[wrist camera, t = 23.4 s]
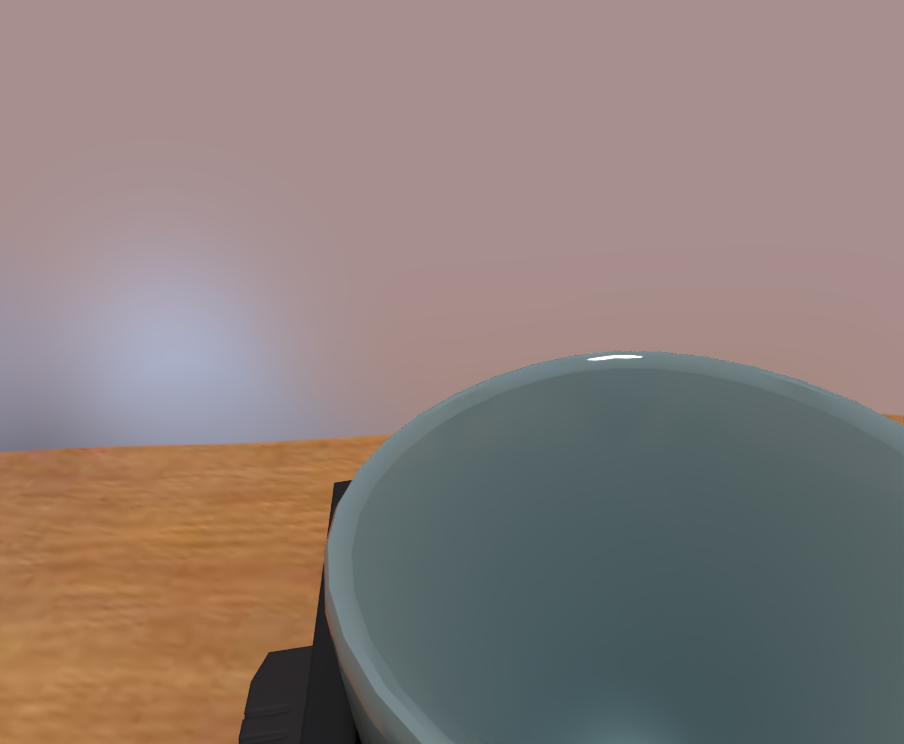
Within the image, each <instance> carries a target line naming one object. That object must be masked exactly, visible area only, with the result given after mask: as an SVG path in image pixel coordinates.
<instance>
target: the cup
mask: <svg viewBox="0 0 904 744" xmlns="http://www.w3.org/2000/svg"><path fill="white" fill-rule="evenodd" d="M324 581H325V614H326V619H327V624H328V628H329V633H330V637H331V641H332V645H333V648H334V652H335V655H336V659H337V662H338V666H339V669H340V673H341V677H342V680H343V684H344V687H345V691H346V694H347V698H348V701H349V705H350V708H351V712H352V715H353V719H354V722H355V725H356V728H357V731H358V734H359V737H360V740H361V743H362V744H904V426H903V425H901V424H899V423H897V422H895V421H893V420H891V419H889V418H887V417H885V416H883V415H881V414H879V413H877V412H875V411H873V410H871V409H869V408H868V407H866V406H864V405H862V404H860V403H858V402H855V401H853V400H851V399H848V398H846V397H843V396H840V395H838V394H835V393H833V392H830V391H828V390H825V389H823V388H820V387H818V386H815V385H812V384H809V383H807V382H805V381H802V380H798V379H795V378H791V377H788V376H785V375H781V374H778V373H774V372H771V371H767V370H764V369H761V368H757V367H754V366H749V365H744V364H739V363H734V362H729V361H724V360H719V359H714V358H709V357H703V356H694V355H685V354H676V353H667V352H645V351H643V352H642V351H639V352H637V351H613V352H603V353H594V354H585V355H575V356H569V357H565V358H560V359H555V360H551V361H546V362H541V363H537V364H533V365H529V366H526V367H523V368H520V369H517V370H514V371H511V372H508V373H504V374H501V375H499V376H495V377H493V378H490V379H488V380H486V381H483V382H481V383H479V384H476V385H474V386H472V387H470V388H467V389H465V390H463V391H461V392H458V393H456V394H454V395H453V396H451V397H449V398H448V399H446V400H444V401H442V402H440V403H439V404H437V405H435V406H434V407H432V408H430V409H429V410H427V411H425V412H423V413H422V414H420V415H418V416H417V417H416V418H414V419H413V420H412V421H411V422H409V423H408V424H407V425H405V426H404V427H403V428H401V429H400V430H399V431H398V432H396V433H395V434H394V435H392V436H391V437H390V438H388V439H387V440H386V441H385V442H384V443H383V444H382V445H381V446H380V447H379V449H378V450H377V451H376V452H375V453H374V454H373V455H372V456H371V457H370V458H369V459H368V460H367V461H366V462H365V463H364V464H363V465H362V467H361V468H360V469H359V470H358V472H357V473H356V475H355V477H354V478H353V480H352V482H351V483H350V485H349V487H348V488H347V490H346V492H345V493H344V495H343V497H342V498H341V500H340V502H339V503H338V505H337V507H336V509H335V511H334V515H333V519H332V523H331V526H330V530H329V534H328V537H327V541H326V545H325V548H324Z"/></svg>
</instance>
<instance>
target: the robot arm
mask: <svg viewBox="0 0 904 744" xmlns="http://www.w3.org/2000/svg"><path fill="white" fill-rule="evenodd" d="M351 482H352V480H349V481H343V482H336V483H334V489H333V496H332V504H331V512H330V519H329V527H328V534H329V530H330V526H331V523H332V519H333V515H334V511H335V509H336V507H337V505H338V503H339V502H340V500H341V498H342V497H343V495H344V493H345V492H346V490H347V488H348V487H349V485H350V483H351ZM328 534H327V537H328ZM244 714H245V718H244V719H243V721H242V725H241V730H240V735H239V739H238V740H239V744H362V743H361V740H360V737H359V734H358V731H357V728H356V725H355V722H354V719H353V715H352V712H351V708H350V705H349V701H348V698H347V694H346V691H345V687H344V684H343V680H342V677H341V673H340V669H339V666H338V662H337V659H336V655H335V652H334V648H333V645H332V641H331V637H330V633H329V628H328V624H327V619H326V614H325V581H324V564H323V572H322V579H321V587H320V594H319V602H318V609H317V617H316V624H315V632H314V640H313V646H307V647H301V648H294V649H288V650H281V651H275V652H269V653H268V655H267V656H266V658H265V660H264V661H263V663H262V665H261V666H260V668H259V669H258V671H257V673H256V674H255V676H254V678H253V679H252V681H251V684H250V689H249V693H248V698H247V703H246V707H245V712H244Z"/></svg>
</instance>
